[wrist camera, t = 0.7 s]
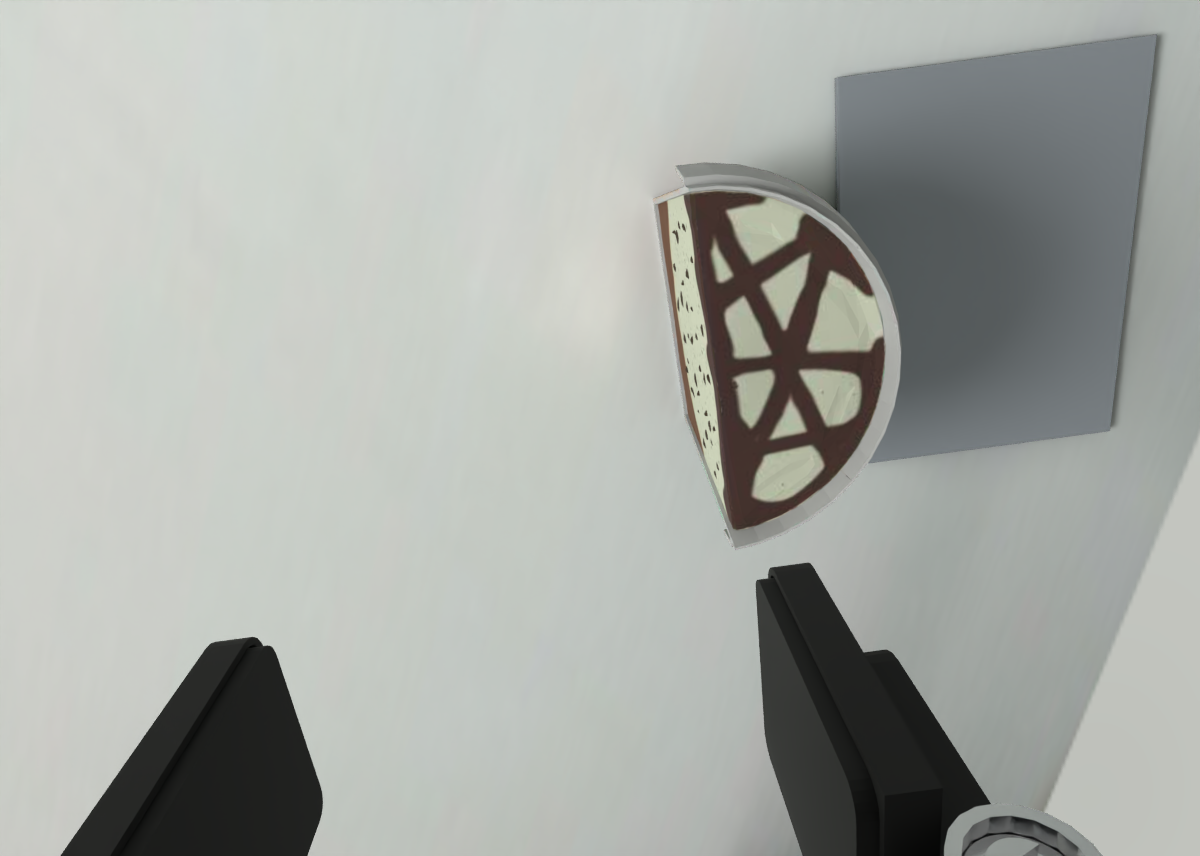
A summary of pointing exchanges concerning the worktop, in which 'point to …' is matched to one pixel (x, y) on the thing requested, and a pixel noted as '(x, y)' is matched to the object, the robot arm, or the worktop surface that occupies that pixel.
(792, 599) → the robot arm
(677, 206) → the food container
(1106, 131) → the mat
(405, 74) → the worktop surface
